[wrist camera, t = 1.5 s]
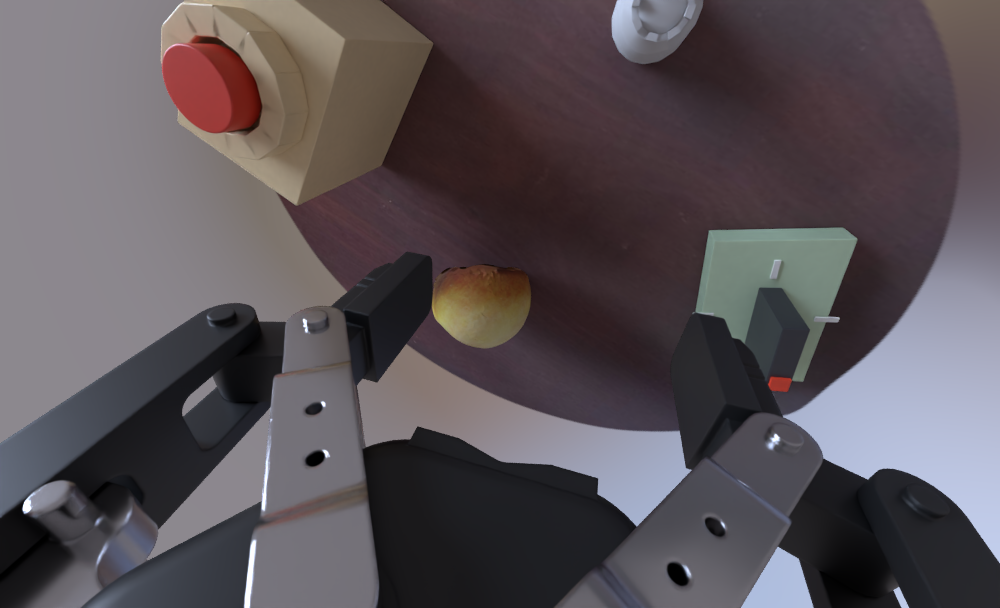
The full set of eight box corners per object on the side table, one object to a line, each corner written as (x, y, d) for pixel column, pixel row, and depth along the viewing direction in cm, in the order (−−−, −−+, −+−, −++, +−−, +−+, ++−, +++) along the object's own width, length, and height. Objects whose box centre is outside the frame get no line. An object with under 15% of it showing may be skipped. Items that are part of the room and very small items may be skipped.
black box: (758, 287, 27) (784, 331, 23) (782, 287, 26) (812, 332, 22) (744, 343, 29) (764, 392, 25) (765, 344, 29) (789, 394, 25)
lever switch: (699, 230, 28) (705, 242, 26) (854, 226, 25) (871, 239, 23) (680, 357, 34) (683, 374, 32) (802, 365, 31) (813, 384, 30)
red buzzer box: (331, -39, 25) (145, -98, 15) (434, 43, 26) (321, 38, 16) (297, 103, 30) (145, 127, 21) (381, 166, 31) (275, 216, 22)
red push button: (198, 25, 17) (161, 23, 16) (267, 76, 18) (237, 78, 17) (193, 98, 20) (159, 102, 18) (255, 142, 20) (227, 149, 19)
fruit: (436, 262, 35) (395, 309, 29) (508, 219, 31) (478, 263, 25) (484, 323, 38) (456, 379, 31) (556, 290, 34) (541, 347, 27)
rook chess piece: (699, 43, 22) (731, 40, 16) (620, 76, 24) (620, 85, 18) (687, -51, 20) (718, -98, 14) (603, -7, 22) (595, -31, 16)
